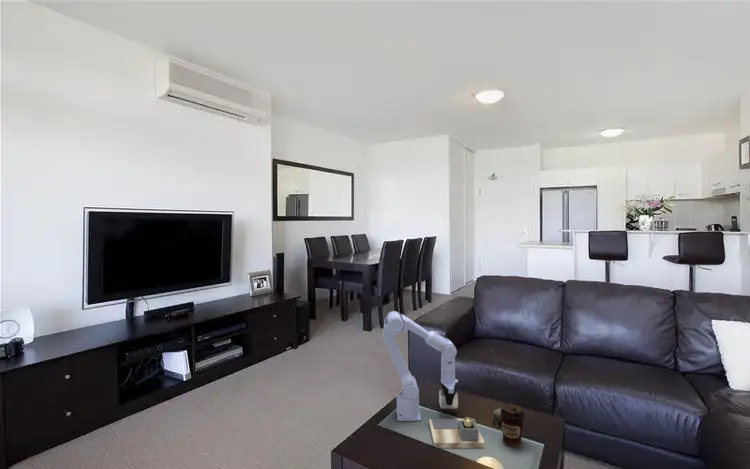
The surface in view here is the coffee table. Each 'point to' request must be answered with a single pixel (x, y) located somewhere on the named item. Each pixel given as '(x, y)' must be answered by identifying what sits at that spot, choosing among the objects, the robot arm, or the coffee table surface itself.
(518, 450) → the coffee table surface
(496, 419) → the rhino figurine
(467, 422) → the pin
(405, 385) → the robot arm
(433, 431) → the base
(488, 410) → the coffee table surface
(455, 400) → the block
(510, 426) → the coffee cup
